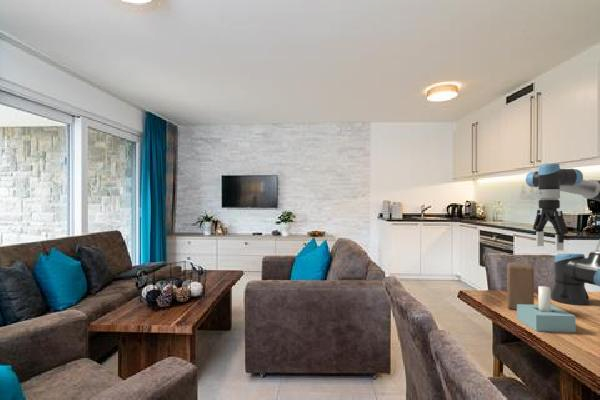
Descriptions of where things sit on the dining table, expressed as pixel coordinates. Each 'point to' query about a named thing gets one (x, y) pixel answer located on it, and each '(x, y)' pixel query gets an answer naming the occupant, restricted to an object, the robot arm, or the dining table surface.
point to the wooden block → (520, 284)
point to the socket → (546, 318)
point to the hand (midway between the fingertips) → (549, 248)
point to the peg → (544, 299)
